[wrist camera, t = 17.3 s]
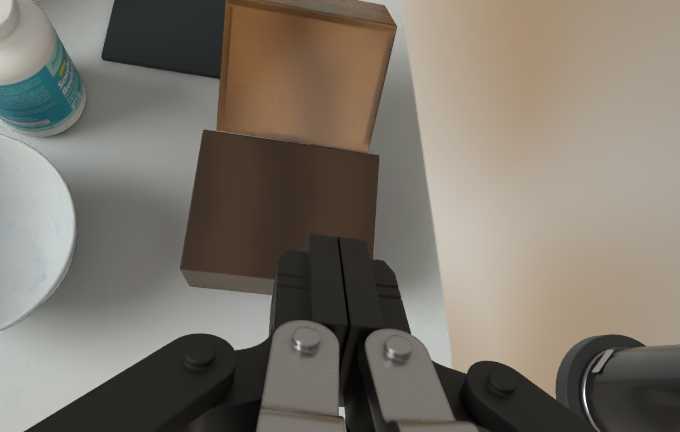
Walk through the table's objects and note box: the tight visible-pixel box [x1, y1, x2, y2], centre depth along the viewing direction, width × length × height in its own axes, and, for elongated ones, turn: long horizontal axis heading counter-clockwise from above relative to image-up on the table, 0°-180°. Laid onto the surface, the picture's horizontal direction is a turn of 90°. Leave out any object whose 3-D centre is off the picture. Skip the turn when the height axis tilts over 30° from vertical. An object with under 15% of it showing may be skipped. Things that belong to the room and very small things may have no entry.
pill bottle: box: [0, 0, 86, 137], centre depth 42 cm, size 8×7×14 cm
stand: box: [180, 130, 379, 295], centre depth 45 cm, size 14×11×8 cm
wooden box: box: [216, 0, 397, 152], centre depth 43 cm, size 12×10×7 cm
